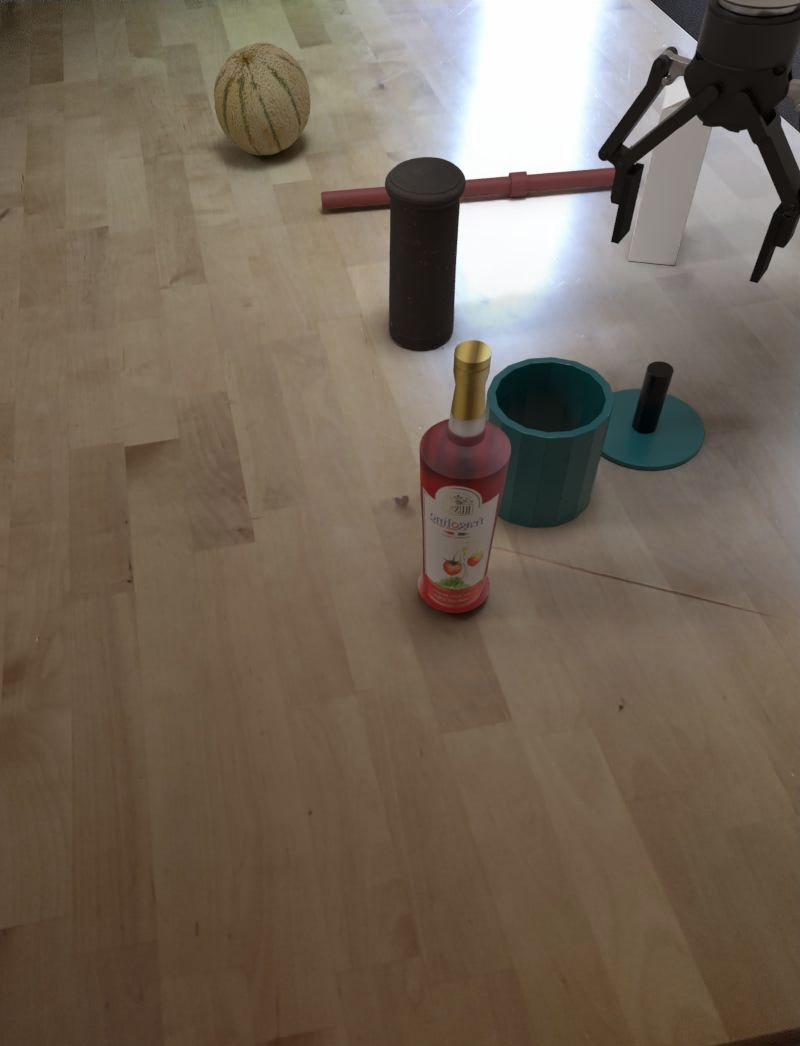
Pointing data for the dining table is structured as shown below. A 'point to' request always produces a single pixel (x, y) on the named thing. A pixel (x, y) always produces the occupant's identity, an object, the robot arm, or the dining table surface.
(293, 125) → the cantaloupe
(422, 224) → the container
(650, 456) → the teal lid
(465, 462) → the liquor
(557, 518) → the teal pot
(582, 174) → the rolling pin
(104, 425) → the dining table surface
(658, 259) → the milk
